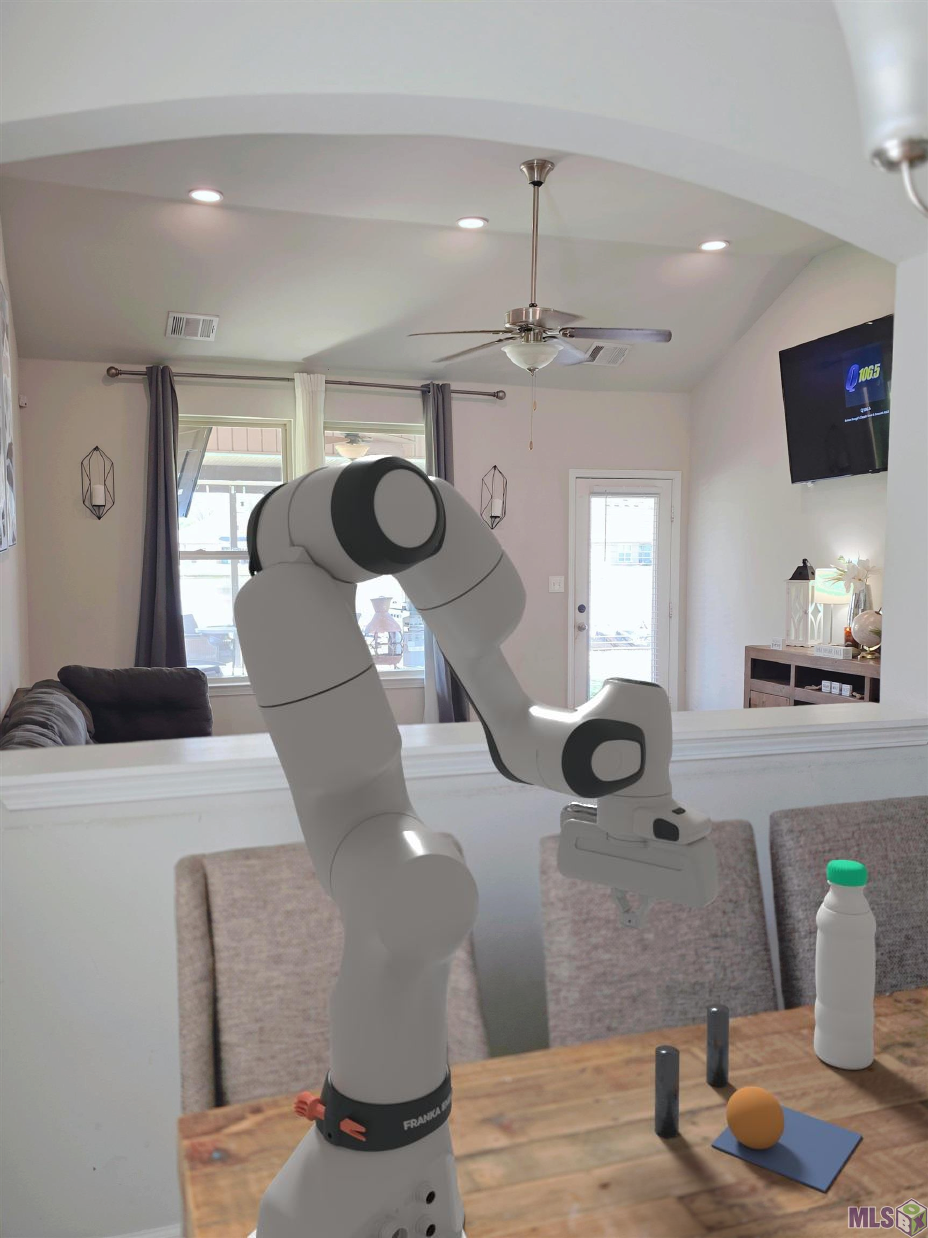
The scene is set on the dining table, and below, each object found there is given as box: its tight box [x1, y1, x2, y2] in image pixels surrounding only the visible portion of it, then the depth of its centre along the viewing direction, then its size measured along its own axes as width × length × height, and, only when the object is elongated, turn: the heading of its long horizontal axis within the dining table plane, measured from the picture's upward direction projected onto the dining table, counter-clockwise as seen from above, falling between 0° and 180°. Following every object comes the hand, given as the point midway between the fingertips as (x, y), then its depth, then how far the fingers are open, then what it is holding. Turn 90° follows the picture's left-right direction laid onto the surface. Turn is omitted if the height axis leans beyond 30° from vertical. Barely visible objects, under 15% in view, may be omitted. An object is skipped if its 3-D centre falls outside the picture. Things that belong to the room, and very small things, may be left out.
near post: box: [654, 1044, 681, 1139], centre depth 104 cm, size 3×3×9 cm
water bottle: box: [813, 859, 877, 1071], centre depth 119 cm, size 7×7×25 cm
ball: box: [725, 1085, 785, 1149], centre depth 101 cm, size 6×6×6 cm
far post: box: [705, 1003, 730, 1088], centre depth 114 cm, size 3×3×9 cm
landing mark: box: [711, 1104, 863, 1193], centre depth 102 cm, size 12×12×1 cm
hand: (633, 926), depth 113 cm, fingers closed
